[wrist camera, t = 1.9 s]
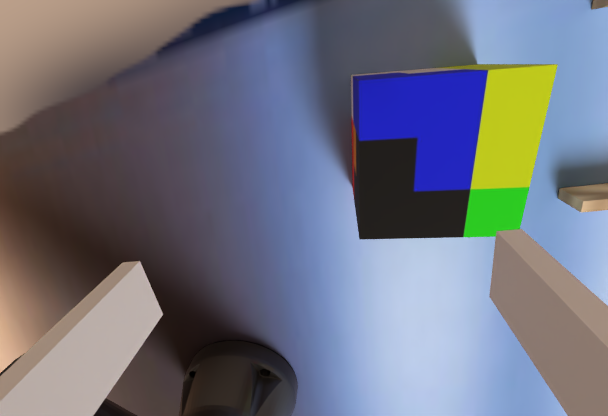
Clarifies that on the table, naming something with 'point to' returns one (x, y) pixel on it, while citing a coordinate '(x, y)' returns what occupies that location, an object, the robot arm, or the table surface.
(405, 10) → the table surface
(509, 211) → the puzzle toy
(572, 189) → the wooden open frame
